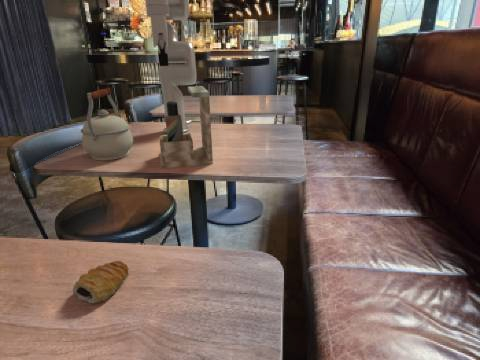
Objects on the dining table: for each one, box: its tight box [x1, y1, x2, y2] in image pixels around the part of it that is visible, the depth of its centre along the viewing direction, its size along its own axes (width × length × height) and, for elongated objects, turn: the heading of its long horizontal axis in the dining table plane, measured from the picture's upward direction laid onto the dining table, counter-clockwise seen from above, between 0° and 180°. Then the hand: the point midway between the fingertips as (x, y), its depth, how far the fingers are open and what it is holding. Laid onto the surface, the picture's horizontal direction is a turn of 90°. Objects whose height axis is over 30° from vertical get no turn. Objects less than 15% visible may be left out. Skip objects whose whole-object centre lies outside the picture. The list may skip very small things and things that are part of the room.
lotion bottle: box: [164, 101, 184, 142], centre depth 114 cm, size 6×6×20 cm
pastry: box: [72, 260, 129, 304], centre depth 55 cm, size 9×7×4 cm
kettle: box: [80, 87, 134, 161], centre depth 121 cm, size 25×18×25 cm
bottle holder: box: [159, 85, 214, 169], centre depth 114 cm, size 18×18×25 cm
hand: (163, 64), depth 115 cm, fingers open, 9 cm apart
